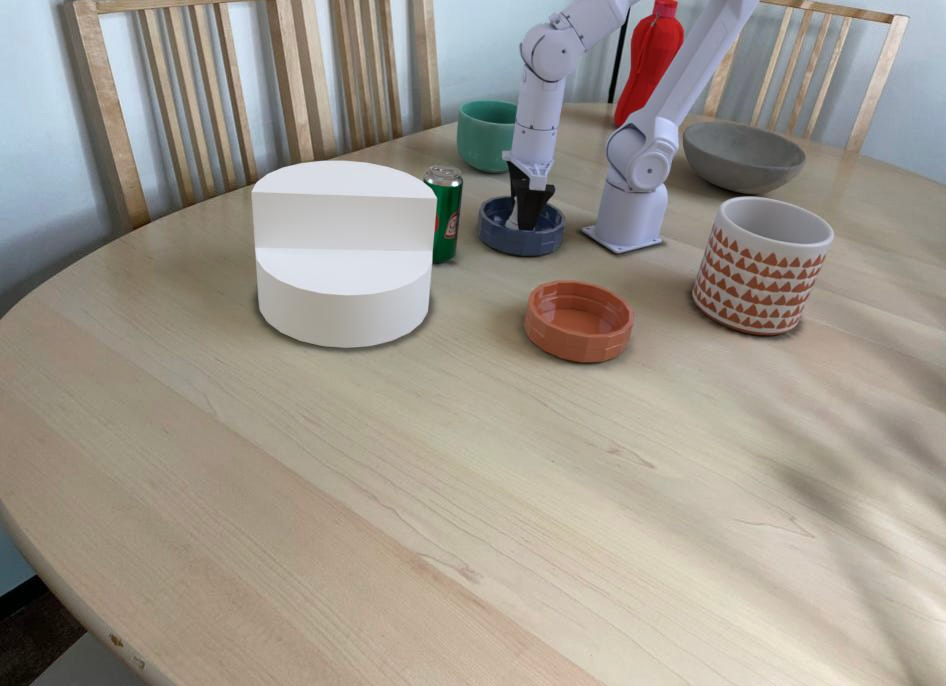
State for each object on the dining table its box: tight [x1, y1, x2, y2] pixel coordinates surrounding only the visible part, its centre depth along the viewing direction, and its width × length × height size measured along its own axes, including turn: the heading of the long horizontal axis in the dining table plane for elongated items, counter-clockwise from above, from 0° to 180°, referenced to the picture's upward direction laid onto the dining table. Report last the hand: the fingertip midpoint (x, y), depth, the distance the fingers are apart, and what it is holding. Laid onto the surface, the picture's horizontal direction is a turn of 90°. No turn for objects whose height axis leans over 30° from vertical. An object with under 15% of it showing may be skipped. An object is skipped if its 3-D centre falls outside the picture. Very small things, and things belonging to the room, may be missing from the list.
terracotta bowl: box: [523, 279, 635, 363], centre depth 87 cm, size 12×12×4 cm
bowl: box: [682, 121, 807, 195], centre depth 132 cm, size 21×21×8 cm
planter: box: [691, 196, 835, 336], centre depth 94 cm, size 14×14×13 cm
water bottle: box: [613, 0, 685, 128], centre depth 148 cm, size 9×11×25 cm
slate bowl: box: [476, 195, 567, 257], centre depth 106 cm, size 12×12×4 cm
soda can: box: [422, 164, 464, 264], centre depth 97 cm, size 5×5×12 cm
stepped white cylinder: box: [250, 160, 437, 349], centre depth 85 cm, size 20×20×13 cm
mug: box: [456, 99, 518, 174], centre depth 128 cm, size 17×13×10 cm
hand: (522, 217), depth 106 cm, fingers open, 7 cm apart
